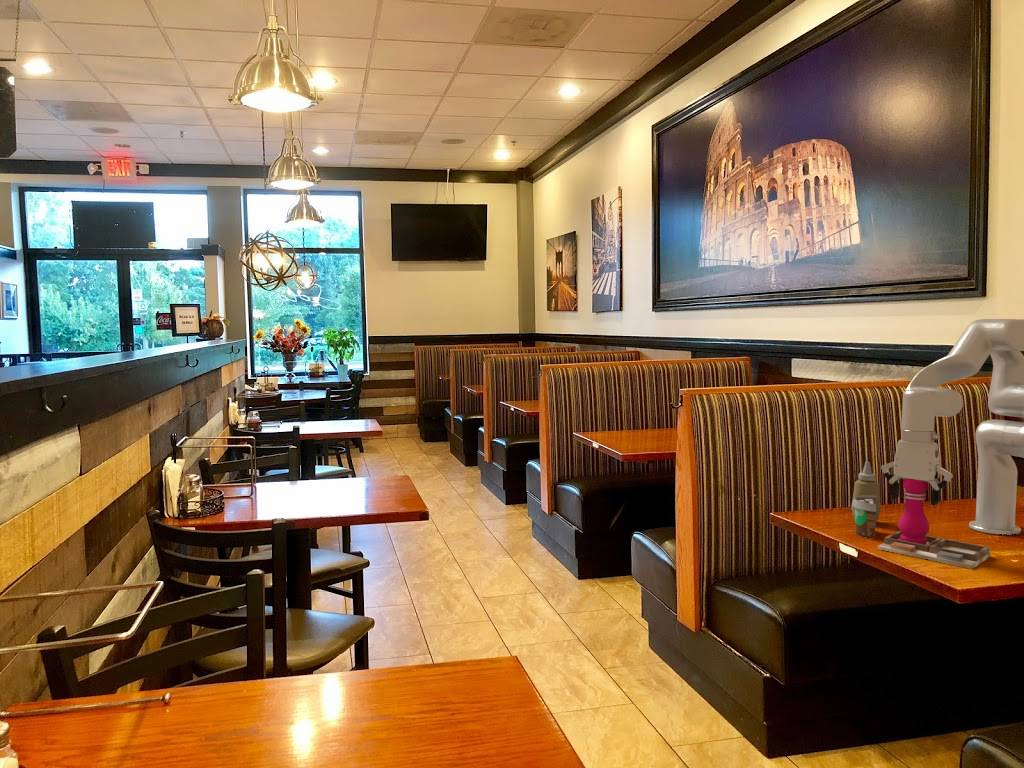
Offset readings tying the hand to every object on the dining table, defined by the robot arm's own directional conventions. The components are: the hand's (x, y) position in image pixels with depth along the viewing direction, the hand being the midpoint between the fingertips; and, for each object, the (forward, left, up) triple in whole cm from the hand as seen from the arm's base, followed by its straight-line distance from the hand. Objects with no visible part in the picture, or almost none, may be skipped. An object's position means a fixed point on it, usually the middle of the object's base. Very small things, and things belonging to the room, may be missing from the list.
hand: (914, 501), depth 202 cm
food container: (-4, -14, -12) cm, 20 cm away
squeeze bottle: (-18, -19, -12) cm, 29 cm away
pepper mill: (0, 0, -12) cm, 12 cm away
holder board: (+2, +6, -12) cm, 14 cm away
